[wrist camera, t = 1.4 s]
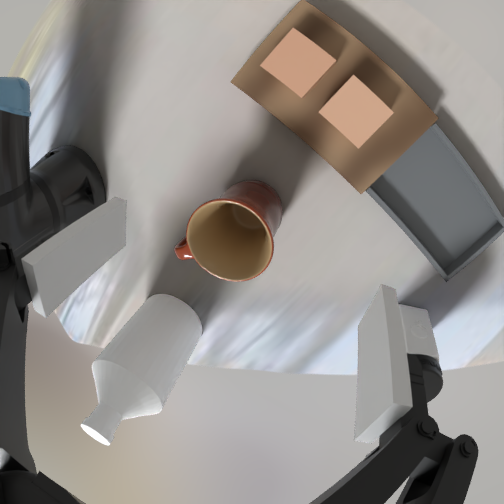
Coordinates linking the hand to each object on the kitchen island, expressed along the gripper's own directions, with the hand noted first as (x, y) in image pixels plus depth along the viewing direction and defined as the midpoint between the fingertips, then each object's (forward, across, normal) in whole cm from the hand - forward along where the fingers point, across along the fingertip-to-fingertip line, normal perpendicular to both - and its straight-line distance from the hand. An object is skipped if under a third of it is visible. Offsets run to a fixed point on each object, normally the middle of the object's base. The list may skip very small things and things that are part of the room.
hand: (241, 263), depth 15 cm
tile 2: (+20, -2, +10) cm, 23 cm away
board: (+23, +2, +9) cm, 25 cm away
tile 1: (+20, +4, +8) cm, 22 cm away
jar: (+23, +22, -17) cm, 36 cm away
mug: (+23, -5, -8) cm, 25 cm away
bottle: (+23, -13, -32) cm, 42 cm away
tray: (+23, +18, +1) cm, 29 cm away
